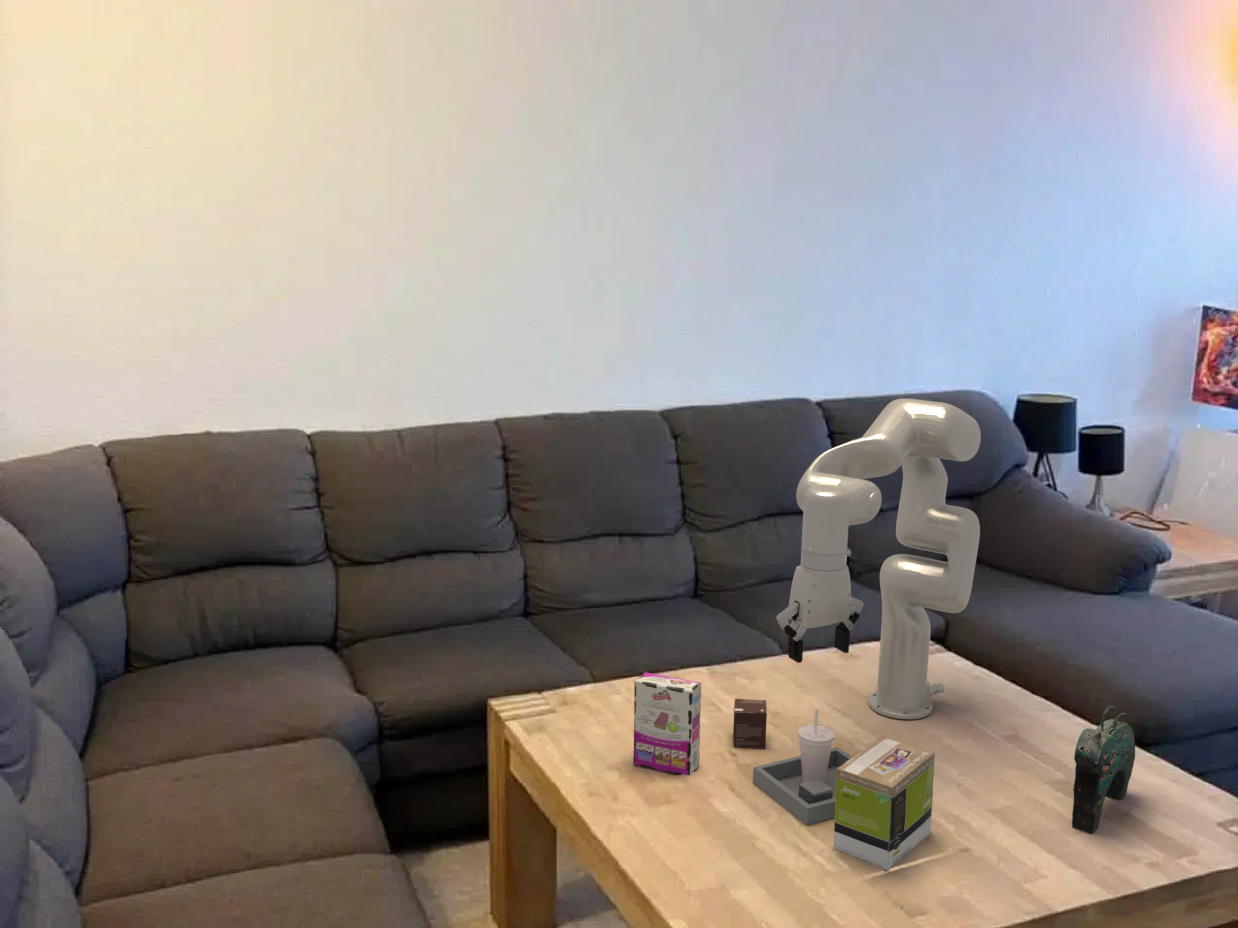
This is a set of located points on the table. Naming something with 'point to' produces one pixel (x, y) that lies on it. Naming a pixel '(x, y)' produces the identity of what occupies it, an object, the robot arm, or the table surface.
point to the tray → (784, 786)
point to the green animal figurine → (1101, 769)
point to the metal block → (815, 791)
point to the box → (749, 723)
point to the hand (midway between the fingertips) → (818, 654)
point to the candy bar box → (667, 724)
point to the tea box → (883, 801)
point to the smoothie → (815, 750)
